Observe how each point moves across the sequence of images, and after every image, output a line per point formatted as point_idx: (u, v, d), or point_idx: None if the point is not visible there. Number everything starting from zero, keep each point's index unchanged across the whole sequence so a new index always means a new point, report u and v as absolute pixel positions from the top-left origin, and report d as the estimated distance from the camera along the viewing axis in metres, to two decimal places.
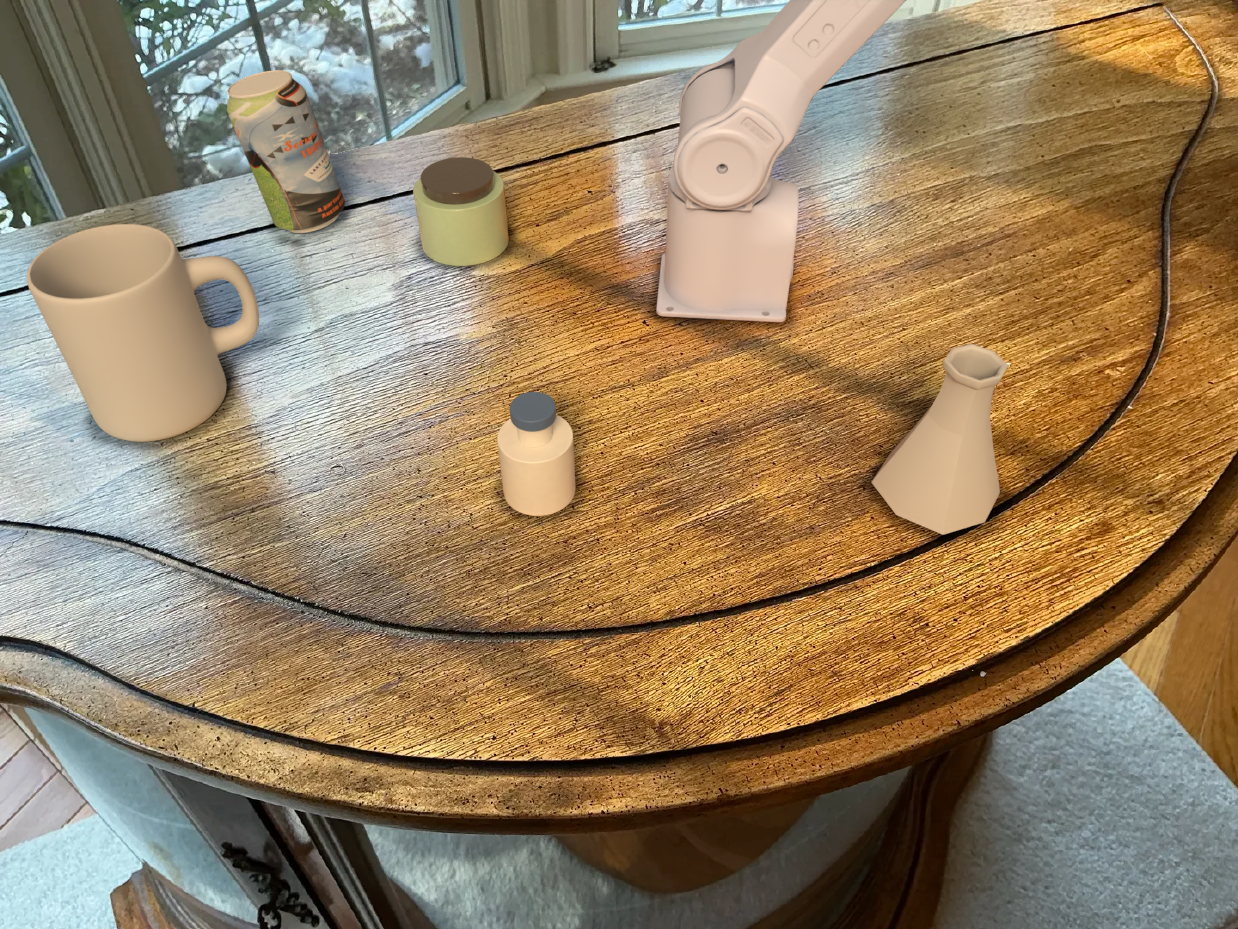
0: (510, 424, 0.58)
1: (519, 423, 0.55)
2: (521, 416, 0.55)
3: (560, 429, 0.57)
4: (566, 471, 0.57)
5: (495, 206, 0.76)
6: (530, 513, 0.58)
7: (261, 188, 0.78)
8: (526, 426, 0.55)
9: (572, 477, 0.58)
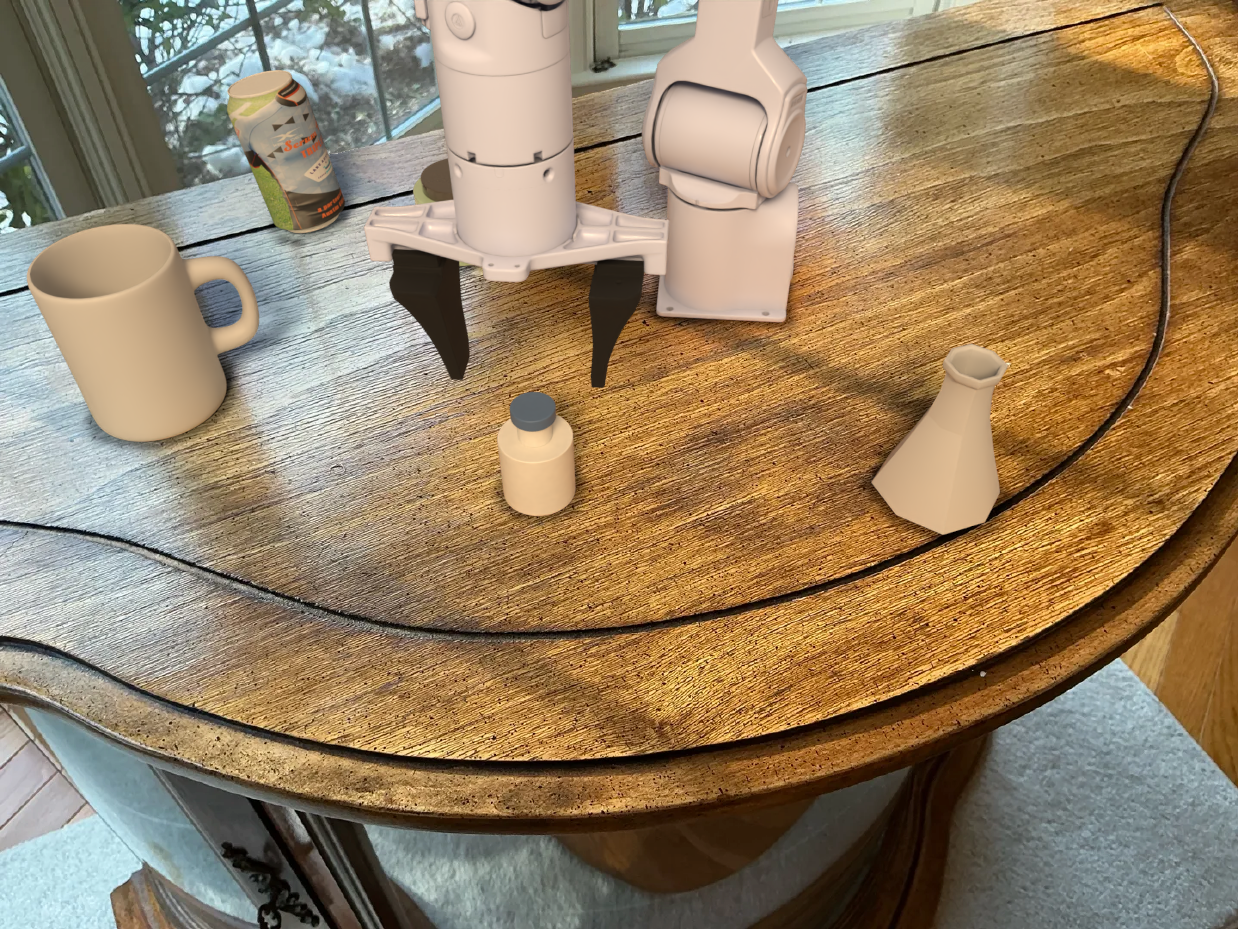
0: (510, 424, 0.58)
1: (519, 423, 0.55)
2: (521, 416, 0.55)
3: (560, 429, 0.57)
4: (566, 471, 0.57)
5: None
6: (530, 513, 0.58)
7: (261, 188, 0.78)
8: (526, 426, 0.55)
9: (572, 477, 0.58)
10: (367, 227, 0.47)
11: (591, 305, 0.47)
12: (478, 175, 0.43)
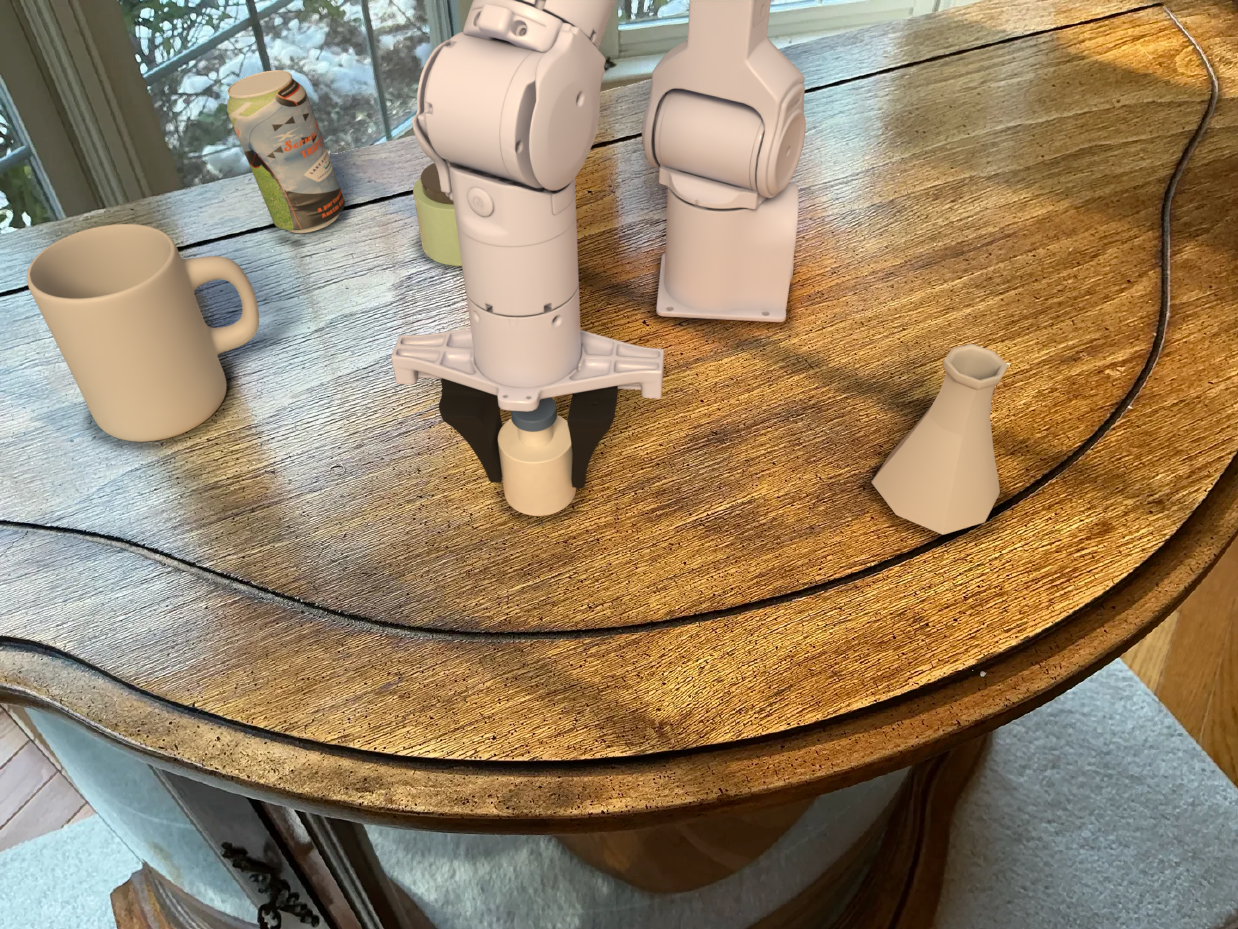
0: (511, 424, 0.58)
1: (520, 423, 0.55)
2: (522, 416, 0.55)
3: (561, 429, 0.57)
4: (567, 471, 0.57)
5: None
6: (531, 513, 0.58)
7: (261, 188, 0.78)
8: (527, 426, 0.55)
9: None
10: (394, 356, 0.52)
11: (570, 425, 0.52)
12: (495, 322, 0.48)
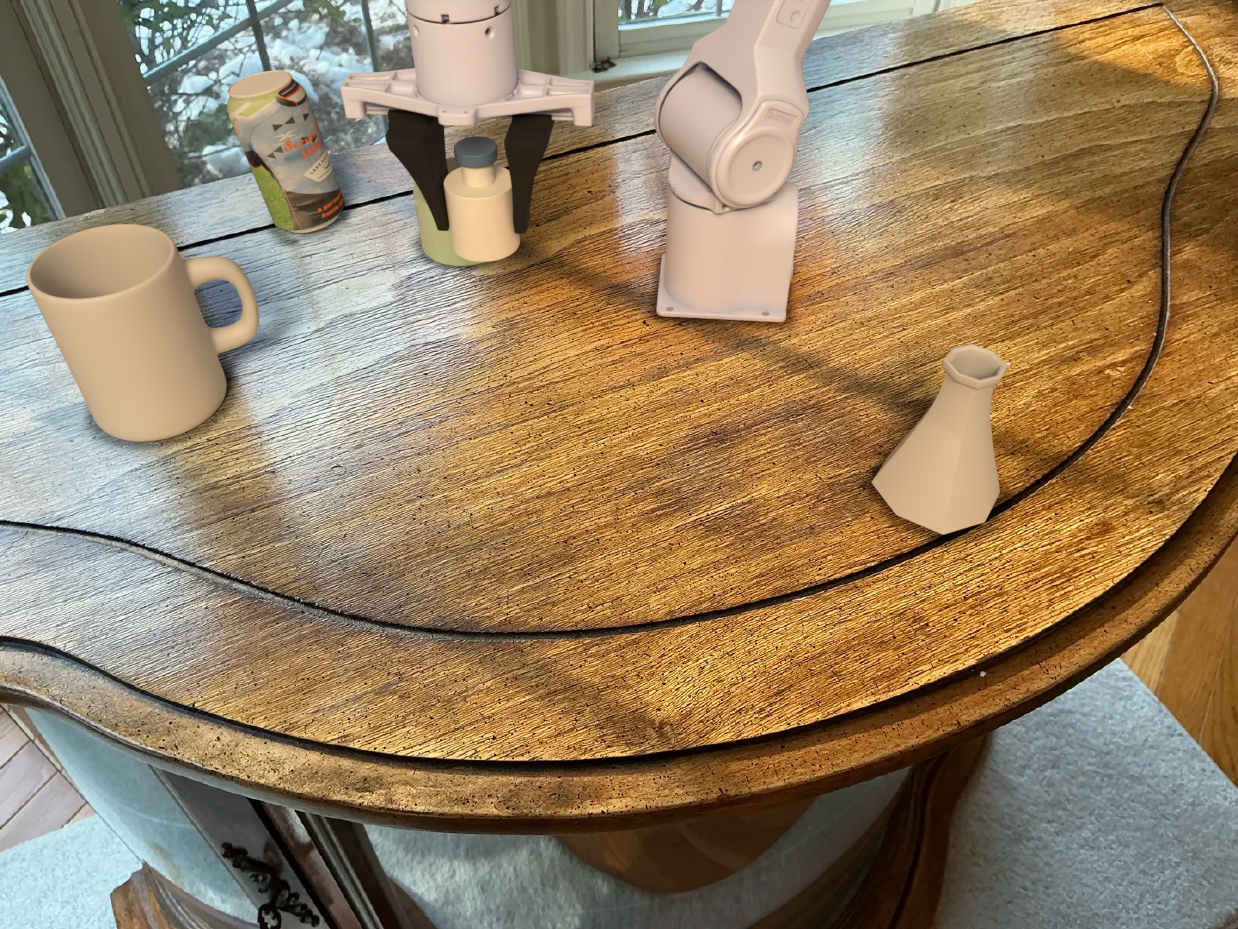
0: (456, 172, 0.62)
1: (462, 159, 0.59)
2: (464, 152, 0.59)
3: (503, 175, 0.61)
4: (509, 214, 0.61)
5: None
6: (476, 259, 0.62)
7: (261, 188, 0.78)
8: (469, 161, 0.59)
9: None
10: (343, 86, 0.56)
11: (507, 149, 0.56)
12: (432, 32, 0.52)
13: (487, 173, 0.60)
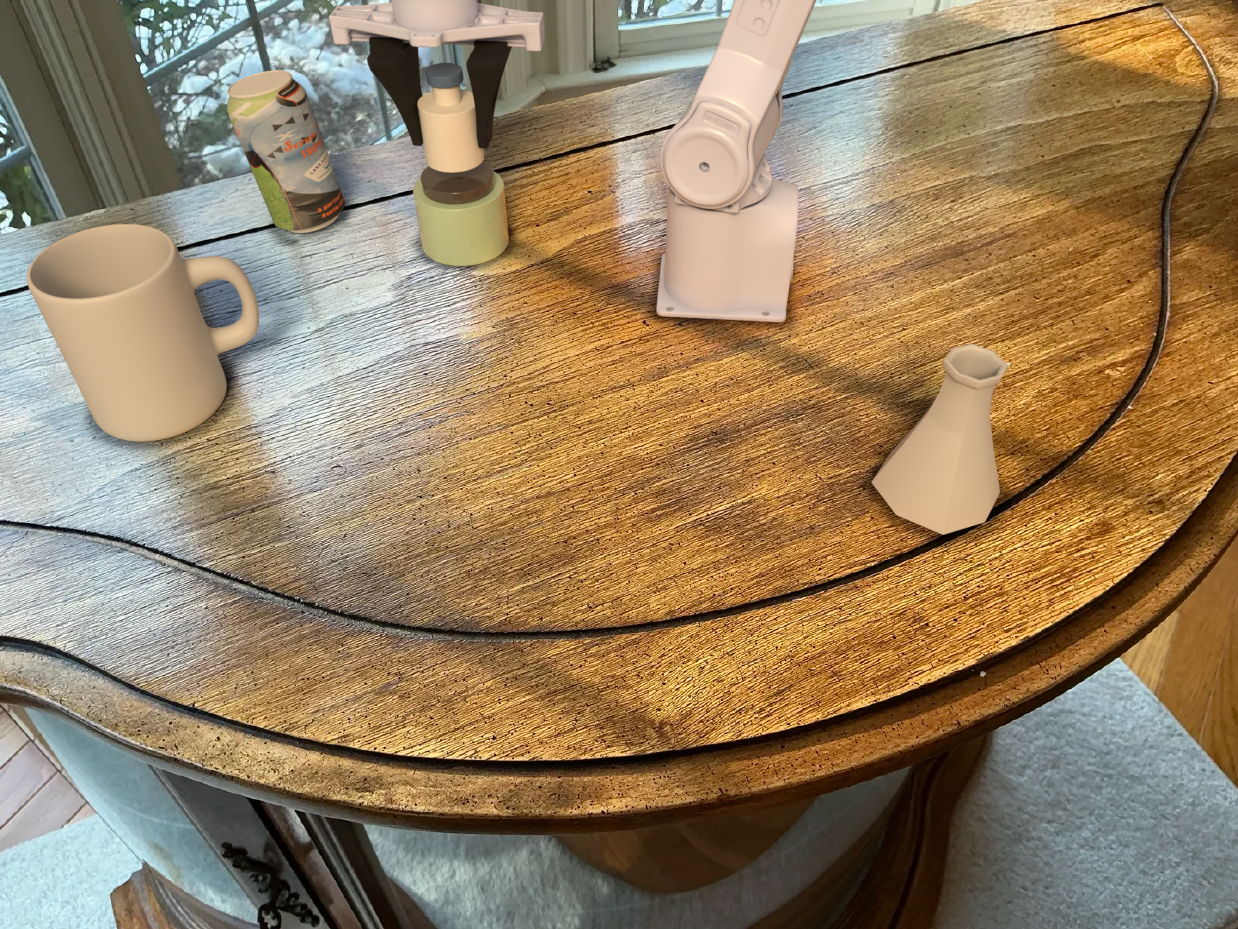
0: (429, 95, 0.72)
1: (432, 80, 0.69)
2: (434, 74, 0.69)
3: (468, 97, 0.72)
4: (473, 130, 0.72)
5: (495, 206, 0.76)
6: (445, 169, 0.73)
7: (261, 188, 0.78)
8: (438, 82, 0.69)
9: None
10: (331, 16, 0.67)
11: (468, 69, 0.67)
12: None
13: (454, 93, 0.70)
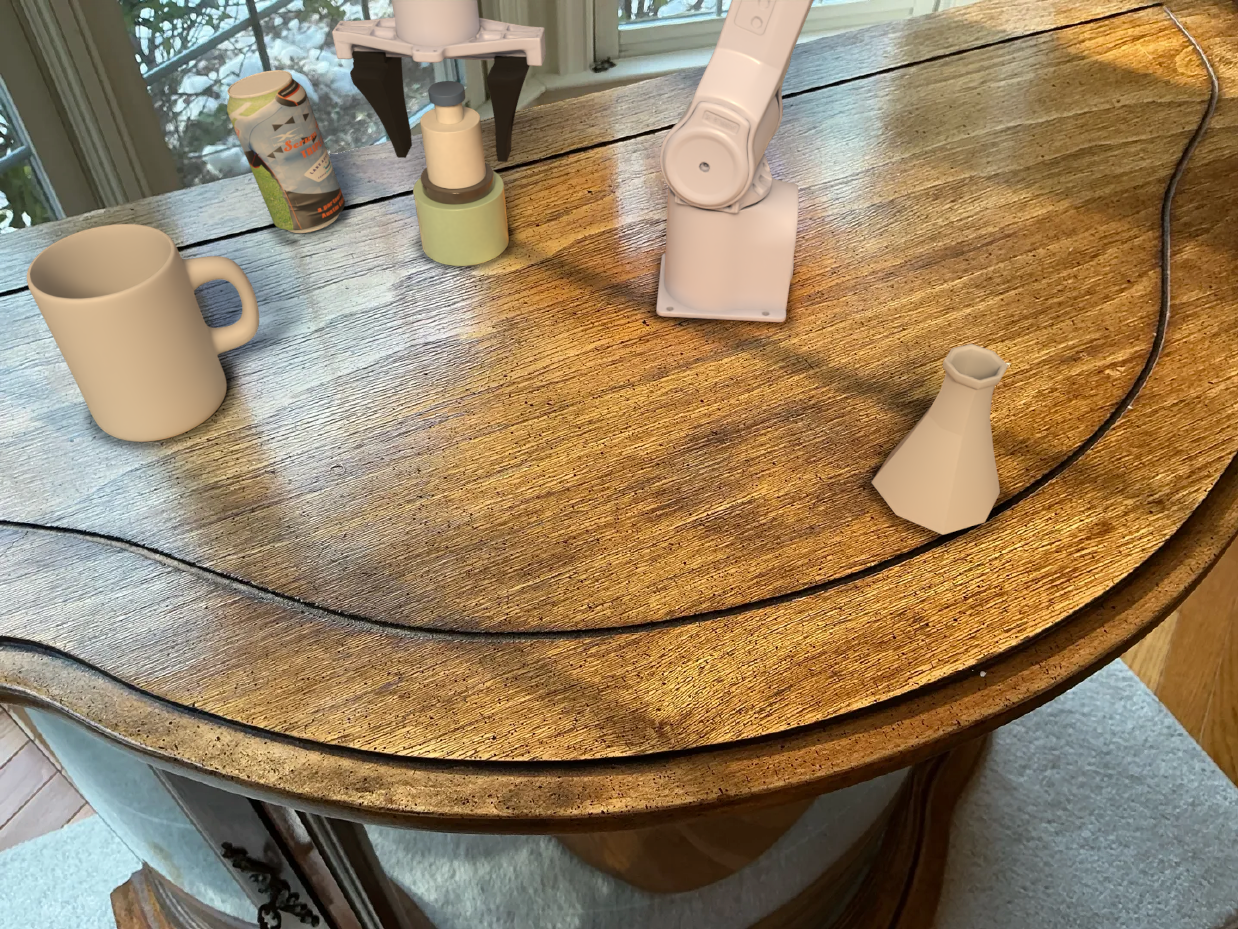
0: (431, 112, 0.73)
1: (435, 98, 0.70)
2: (436, 93, 0.70)
3: (470, 115, 0.73)
4: (475, 148, 0.73)
5: (495, 206, 0.76)
6: (448, 186, 0.74)
7: (261, 188, 0.78)
8: (440, 100, 0.70)
9: (481, 157, 0.74)
10: (334, 31, 0.68)
11: (489, 85, 0.68)
12: None
13: (456, 111, 0.71)
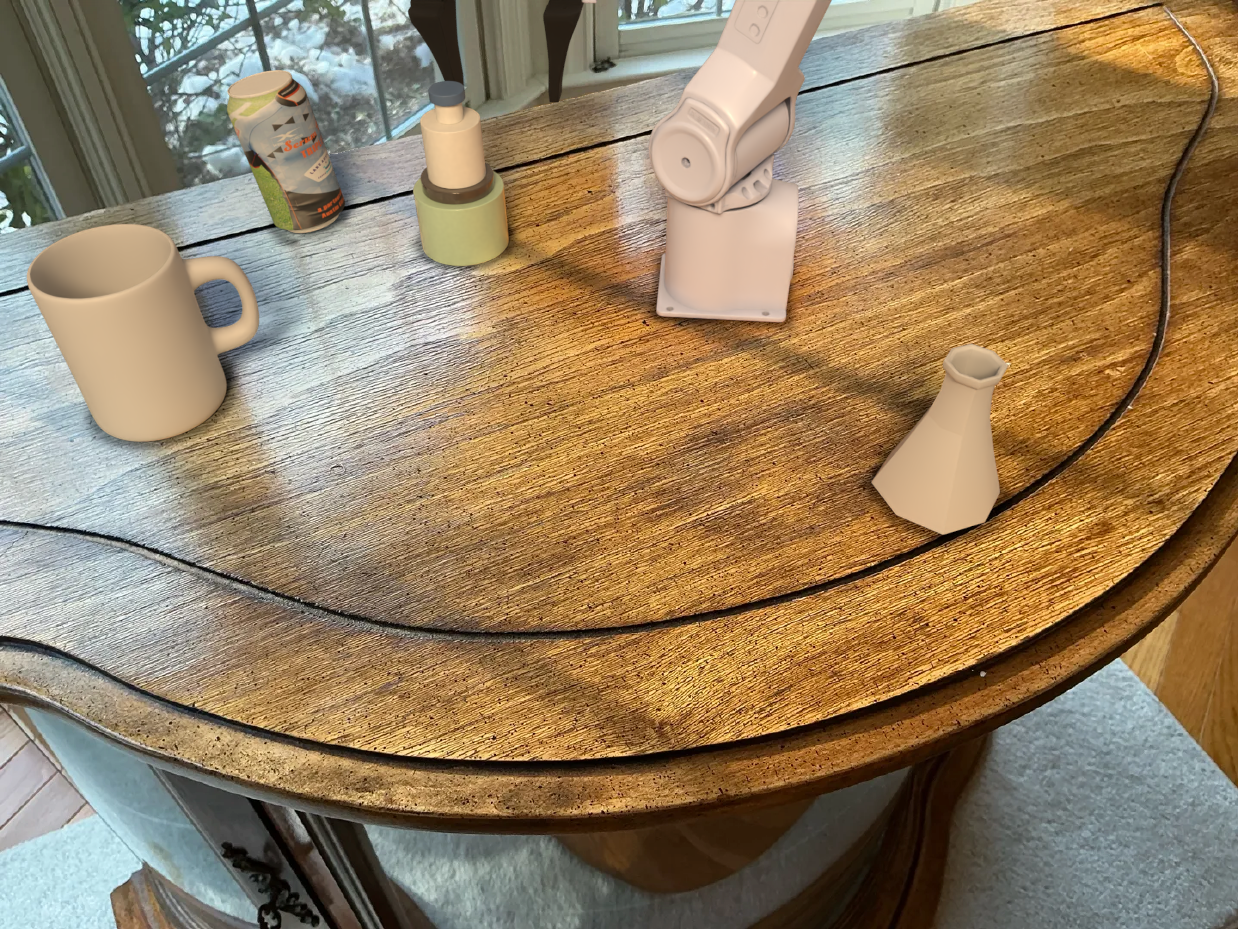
0: (431, 112, 0.73)
1: (435, 98, 0.70)
2: (436, 93, 0.70)
3: (470, 115, 0.73)
4: (475, 148, 0.73)
5: (495, 206, 0.76)
6: (448, 186, 0.74)
7: (261, 188, 0.78)
8: (440, 100, 0.70)
9: (481, 157, 0.74)
10: None
11: (545, 21, 0.69)
12: None
13: (456, 111, 0.71)
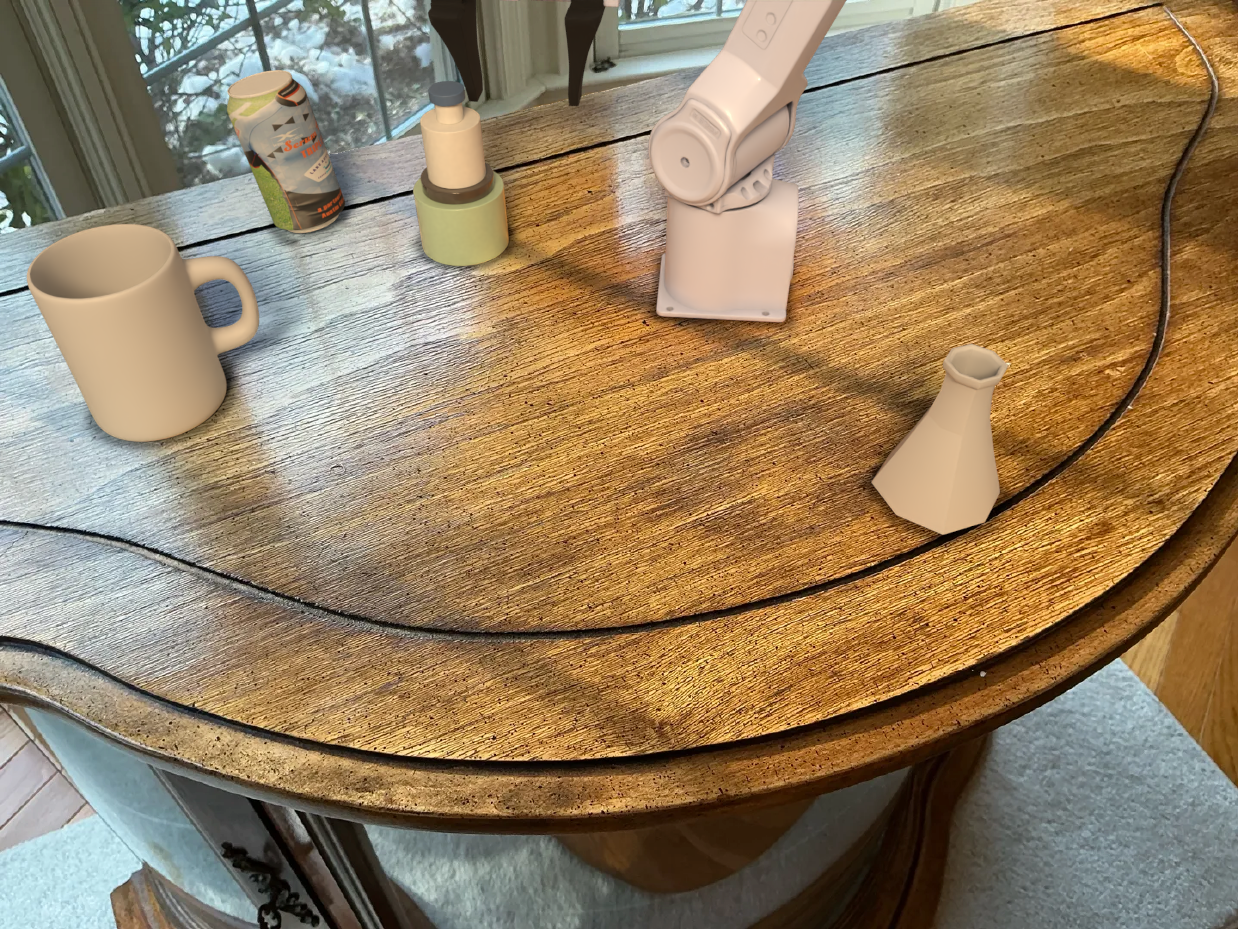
0: (431, 112, 0.73)
1: (435, 98, 0.70)
2: (436, 93, 0.70)
3: (470, 115, 0.73)
4: (475, 148, 0.73)
5: (495, 206, 0.76)
6: (448, 186, 0.74)
7: (261, 188, 0.78)
8: (440, 100, 0.70)
9: (481, 157, 0.74)
10: None
11: (566, 25, 0.68)
12: None
13: (456, 111, 0.71)
